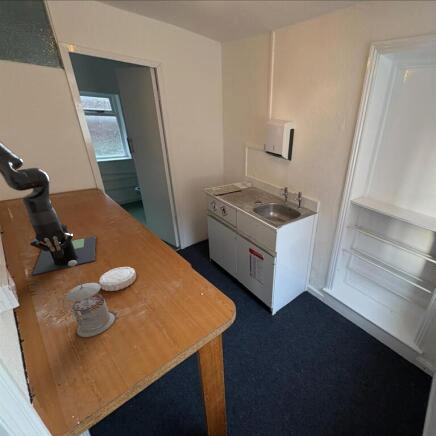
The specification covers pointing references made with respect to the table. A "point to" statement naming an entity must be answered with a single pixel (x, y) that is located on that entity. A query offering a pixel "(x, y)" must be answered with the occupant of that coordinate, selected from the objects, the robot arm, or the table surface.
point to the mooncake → (117, 278)
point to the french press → (86, 300)
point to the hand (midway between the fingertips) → (60, 257)
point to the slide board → (85, 255)
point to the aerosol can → (65, 251)
